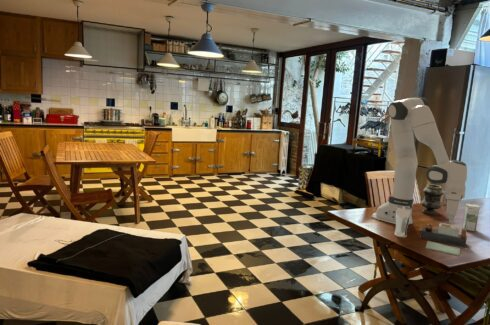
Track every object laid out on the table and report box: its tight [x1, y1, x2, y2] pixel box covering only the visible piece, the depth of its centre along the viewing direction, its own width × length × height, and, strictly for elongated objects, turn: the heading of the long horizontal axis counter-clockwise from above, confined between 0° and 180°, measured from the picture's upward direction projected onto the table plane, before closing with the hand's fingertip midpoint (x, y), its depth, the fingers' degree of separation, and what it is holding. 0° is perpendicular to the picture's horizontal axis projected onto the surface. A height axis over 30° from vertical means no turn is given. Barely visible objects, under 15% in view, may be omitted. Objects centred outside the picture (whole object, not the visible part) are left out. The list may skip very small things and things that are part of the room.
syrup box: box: [462, 202, 480, 232], centre depth 202 cm, size 6×6×14 cm
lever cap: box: [437, 222, 461, 237], centre depth 181 cm, size 9×5×5 cm, turn 57°
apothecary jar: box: [420, 183, 444, 216], centre depth 233 cm, size 12×12×18 cm
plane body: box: [419, 222, 468, 248], centre depth 183 cm, size 20×7×8 cm, turn 57°
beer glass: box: [393, 206, 411, 239], centre depth 186 cm, size 7×7×15 cm
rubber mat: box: [425, 240, 461, 257], centre depth 172 cm, size 14×10×1 cm
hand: (451, 220), depth 180 cm, fingers open, 8 cm apart
